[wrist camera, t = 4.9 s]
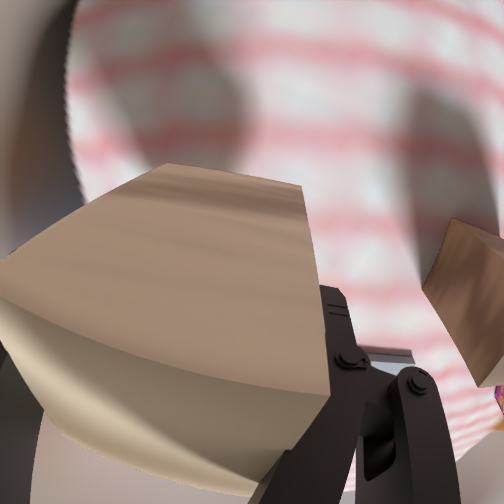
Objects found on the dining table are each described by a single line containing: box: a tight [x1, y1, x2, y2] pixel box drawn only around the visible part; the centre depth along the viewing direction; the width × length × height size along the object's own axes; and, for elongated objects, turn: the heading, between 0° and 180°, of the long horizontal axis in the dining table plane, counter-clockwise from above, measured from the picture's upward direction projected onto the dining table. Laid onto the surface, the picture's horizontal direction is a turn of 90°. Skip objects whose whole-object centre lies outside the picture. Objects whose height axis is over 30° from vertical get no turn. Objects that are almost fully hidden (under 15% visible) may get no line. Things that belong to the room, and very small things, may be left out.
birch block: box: [0, 163, 330, 497], centre depth 9 cm, size 6×6×10 cm
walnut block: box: [422, 218, 504, 388], centre depth 13 cm, size 6×6×10 cm
